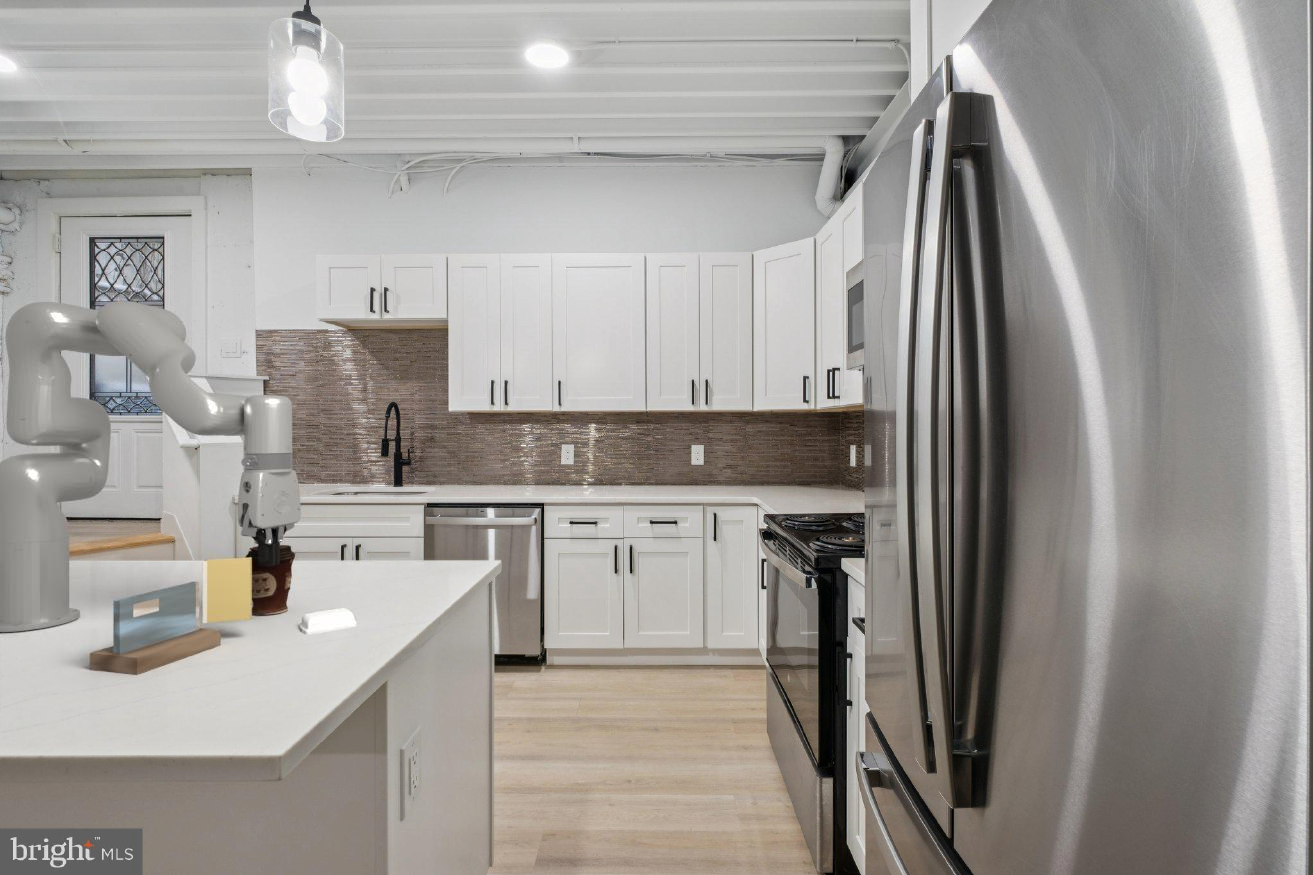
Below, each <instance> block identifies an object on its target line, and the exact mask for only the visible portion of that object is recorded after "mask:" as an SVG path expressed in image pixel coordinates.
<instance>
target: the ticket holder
mask: <svg viewBox="0 0 1313 875" xmlns="http://www.w3.org/2000/svg"><path fill="white" fill-rule="evenodd" d="M112 606H113V608H112V609H113V610H112V612H113V614H112V616H113V619H112V620H113V621H112V622H113V623H112V624H113V625H112V626H113V634H112V635H113V645H112V646H108V647H104V648H102V649H98V650H95V651H91V652H89V671H90V670H92V671H101V672H109V673H118V674H126V675H134V676H135V675H140V674H143V673H146V672H150V671H151V670H155V669H157V668H160V667H164V666H166V665H169V664H172V663H174V662H177V661H180V660H183V659H186V658H188V657H191V656H195V655H197V654H200V653H202V652H206V651H207V650H210V649H213V648H216V647H219V646H221V642H222V641H221V635H222V634H221V630H220V629H211V628H210V629H209V628H208V629H207V628H200V582H199V581H190V582H186V583H182V584H178V585H174V586H170V587H165V588H162V589H157V590H152V591H148V592H145V593H144V592H143V593H140V594H136V595H132V596H127V597H122V598H118V599H114V600H113V603H112Z"/></svg>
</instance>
